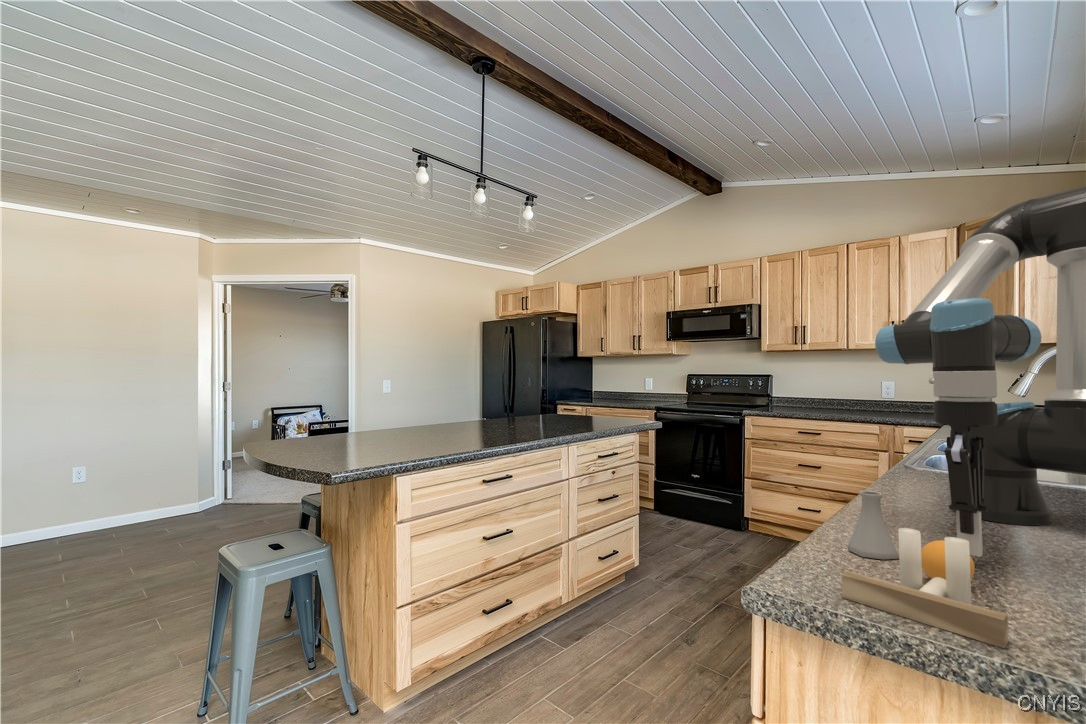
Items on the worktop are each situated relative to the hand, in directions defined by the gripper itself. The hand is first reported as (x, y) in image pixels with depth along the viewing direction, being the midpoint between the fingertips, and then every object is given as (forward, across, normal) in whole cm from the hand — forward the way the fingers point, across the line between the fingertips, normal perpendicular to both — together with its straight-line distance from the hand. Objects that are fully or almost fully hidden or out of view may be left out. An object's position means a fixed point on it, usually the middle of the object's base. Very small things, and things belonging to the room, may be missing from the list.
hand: (970, 553), depth 76 cm
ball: (-1, +11, 0) cm, 11 cm away
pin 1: (+2, +18, -2) cm, 19 cm away
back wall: (+2, +26, 0) cm, 26 cm away
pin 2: (+2, +18, +2) cm, 19 cm away
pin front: (+1, +16, 0) cm, 16 cm away
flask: (+2, +5, -12) cm, 13 cm away
